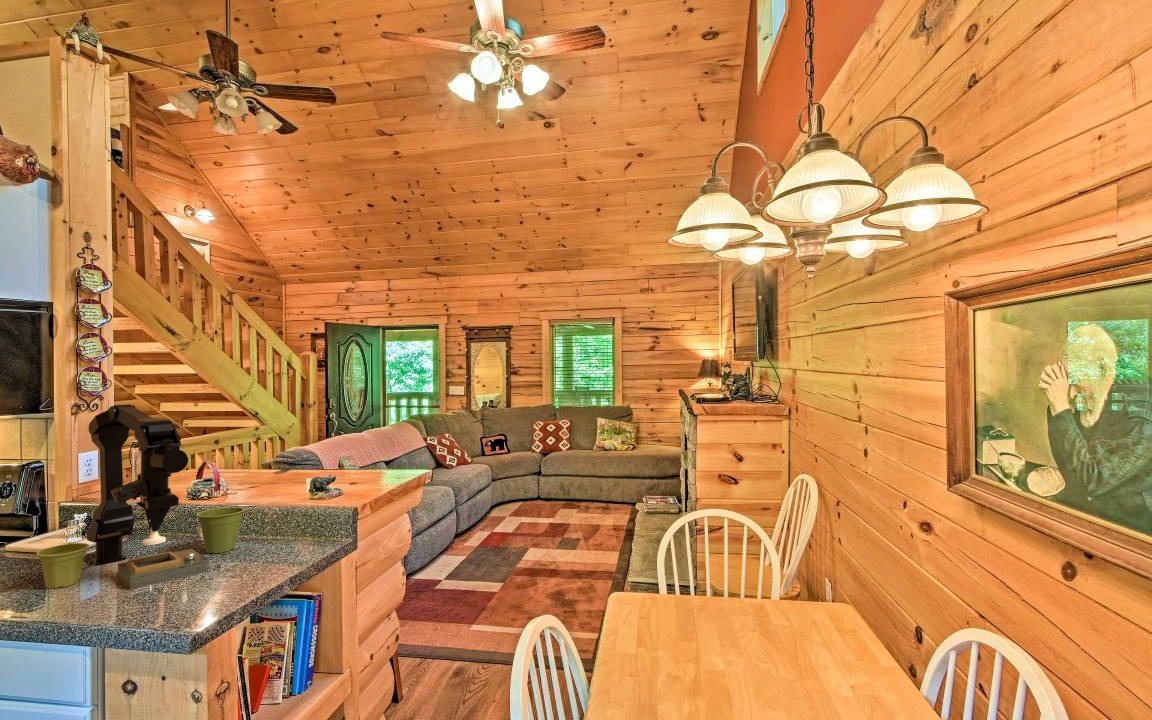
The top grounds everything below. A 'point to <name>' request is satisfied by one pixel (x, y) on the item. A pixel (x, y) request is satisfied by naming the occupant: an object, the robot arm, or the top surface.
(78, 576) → the plant pot
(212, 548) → the plant pot
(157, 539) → the chess piece
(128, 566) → the grey hollow block
